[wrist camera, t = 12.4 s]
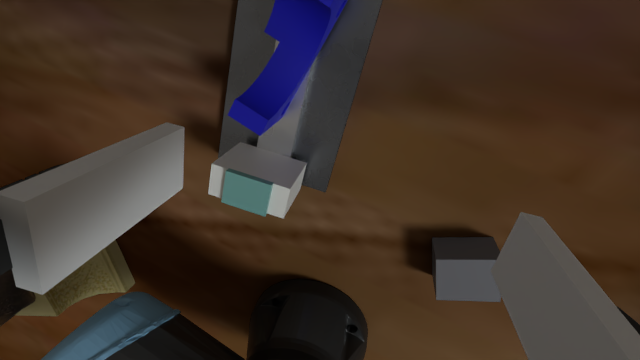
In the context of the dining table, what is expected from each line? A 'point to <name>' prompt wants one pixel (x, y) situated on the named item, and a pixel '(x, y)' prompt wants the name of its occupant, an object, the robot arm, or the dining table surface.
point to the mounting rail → (301, 87)
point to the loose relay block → (465, 268)
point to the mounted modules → (256, 180)
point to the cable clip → (286, 60)
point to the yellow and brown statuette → (68, 286)
